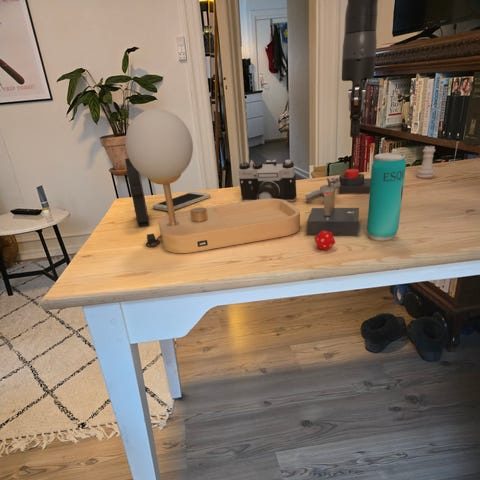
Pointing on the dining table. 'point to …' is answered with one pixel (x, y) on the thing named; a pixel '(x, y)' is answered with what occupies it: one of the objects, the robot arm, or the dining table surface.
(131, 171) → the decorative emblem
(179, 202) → the smartphone
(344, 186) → the box
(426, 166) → the rook chess piece
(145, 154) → the lamp
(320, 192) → the elephant figurine
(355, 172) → the button
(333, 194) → the grey rectangular plate
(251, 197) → the camera
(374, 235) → the beverage can
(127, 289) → the dining table surface
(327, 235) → the die
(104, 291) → the dining table surface
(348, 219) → the dial block
